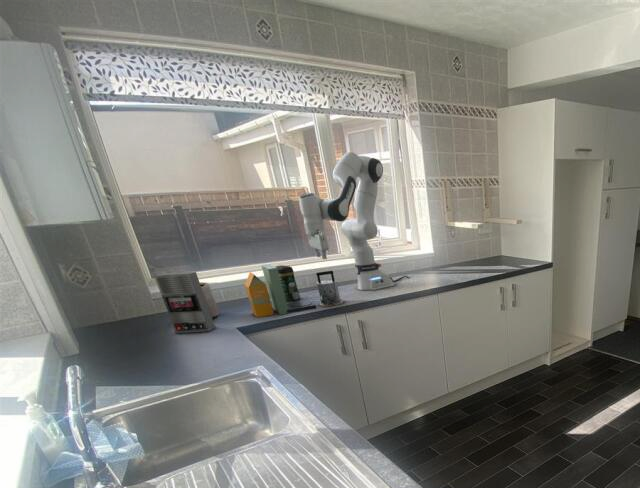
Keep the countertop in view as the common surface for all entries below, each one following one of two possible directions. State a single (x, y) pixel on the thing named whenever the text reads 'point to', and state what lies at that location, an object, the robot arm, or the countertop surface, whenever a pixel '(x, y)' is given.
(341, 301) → the cork mat
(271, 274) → the coffee maker
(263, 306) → the orange juice
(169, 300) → the cassette tape recorder
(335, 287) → the grey box with handle
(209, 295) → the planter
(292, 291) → the coffee jar
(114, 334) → the countertop surface
